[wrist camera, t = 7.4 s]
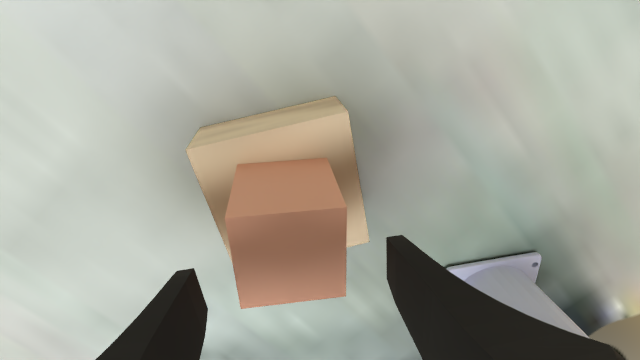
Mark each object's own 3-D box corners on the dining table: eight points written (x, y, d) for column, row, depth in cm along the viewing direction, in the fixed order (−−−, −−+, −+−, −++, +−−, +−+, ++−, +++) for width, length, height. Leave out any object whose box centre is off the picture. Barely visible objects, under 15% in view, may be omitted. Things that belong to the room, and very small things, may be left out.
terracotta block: (328, 230, 19) (345, 296, 14) (248, 238, 18) (240, 308, 14) (327, 157, 17) (346, 207, 12) (237, 164, 16) (224, 218, 12)
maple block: (354, 207, 23) (369, 241, 20) (242, 235, 23) (237, 274, 19) (334, 94, 20) (348, 111, 16) (201, 126, 19) (185, 150, 16)
